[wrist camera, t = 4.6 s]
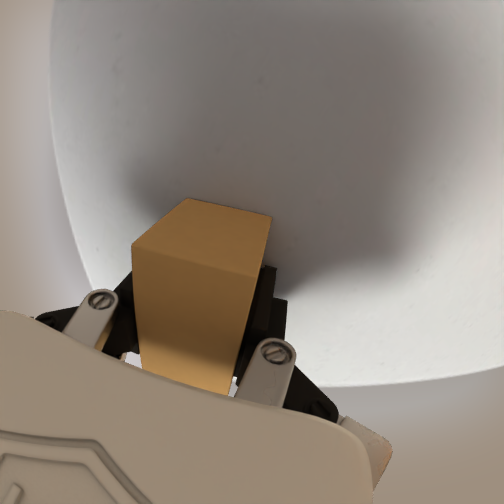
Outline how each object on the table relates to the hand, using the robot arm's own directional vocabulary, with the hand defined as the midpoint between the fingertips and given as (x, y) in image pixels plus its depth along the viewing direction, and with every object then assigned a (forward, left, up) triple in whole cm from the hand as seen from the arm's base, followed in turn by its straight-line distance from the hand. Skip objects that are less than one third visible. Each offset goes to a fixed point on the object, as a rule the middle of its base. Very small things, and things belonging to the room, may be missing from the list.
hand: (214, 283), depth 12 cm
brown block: (0, 0, 0) cm, 0 cm away
